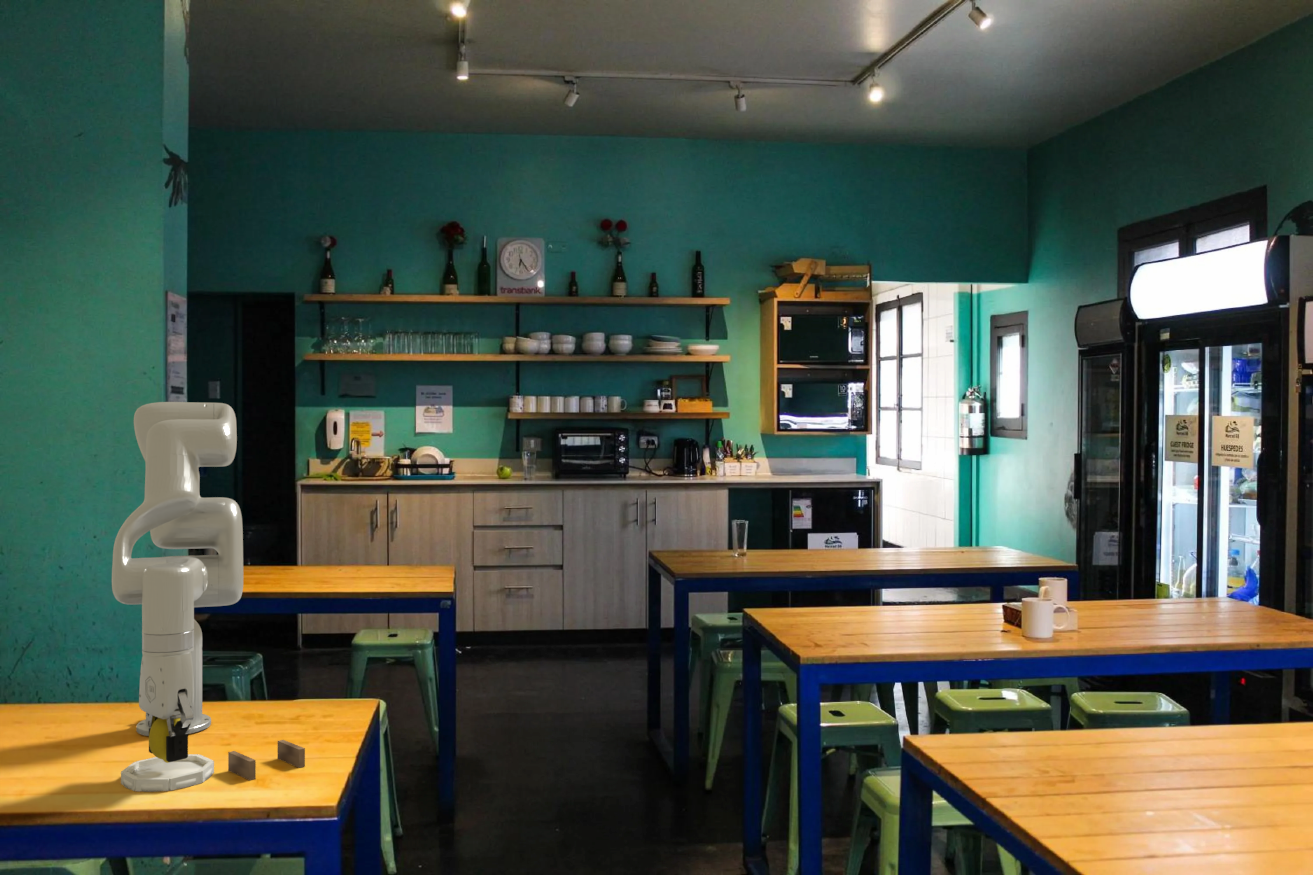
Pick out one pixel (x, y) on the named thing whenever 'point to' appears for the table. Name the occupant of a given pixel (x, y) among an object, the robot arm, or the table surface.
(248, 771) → the rack
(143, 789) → the saucer
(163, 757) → the lemon
